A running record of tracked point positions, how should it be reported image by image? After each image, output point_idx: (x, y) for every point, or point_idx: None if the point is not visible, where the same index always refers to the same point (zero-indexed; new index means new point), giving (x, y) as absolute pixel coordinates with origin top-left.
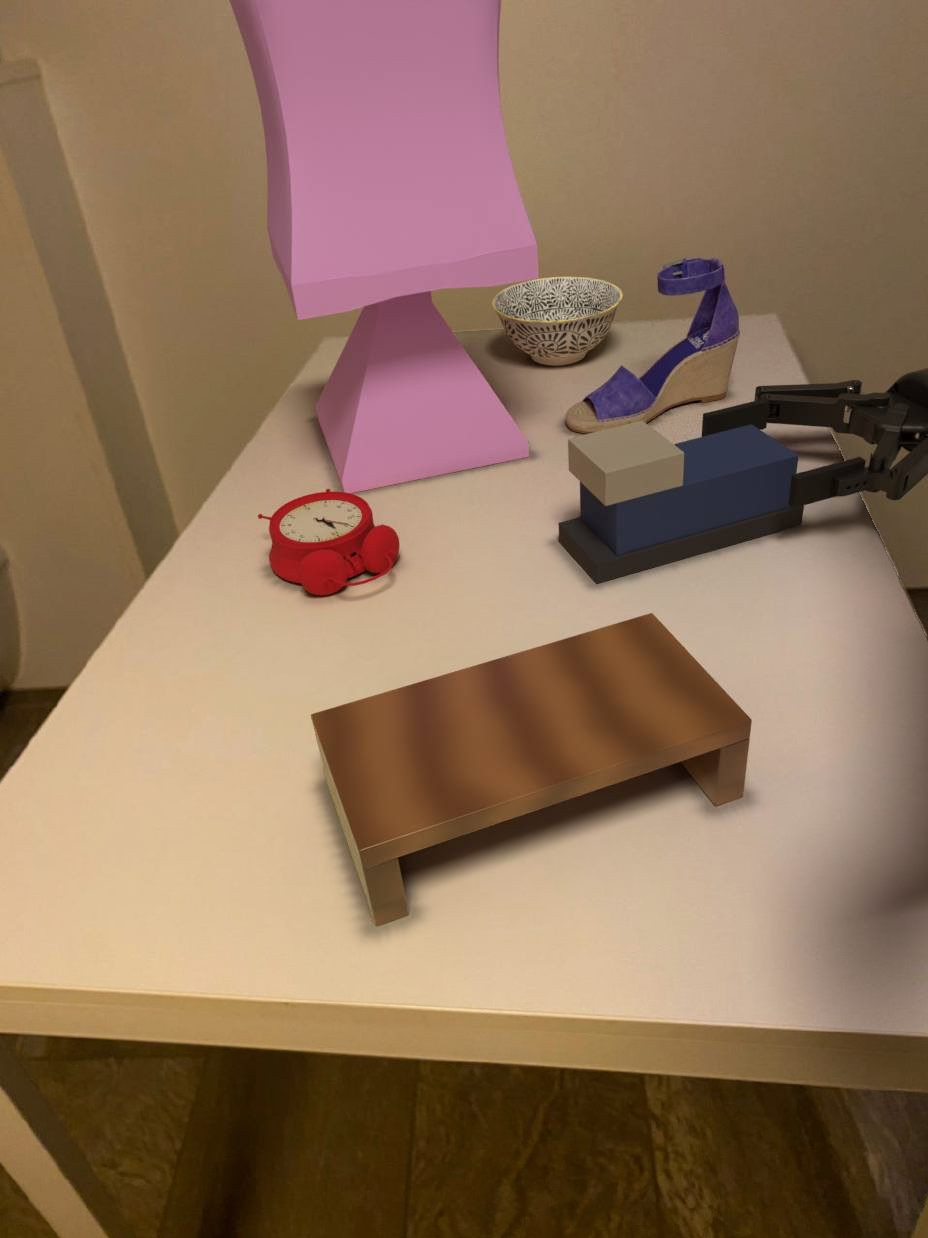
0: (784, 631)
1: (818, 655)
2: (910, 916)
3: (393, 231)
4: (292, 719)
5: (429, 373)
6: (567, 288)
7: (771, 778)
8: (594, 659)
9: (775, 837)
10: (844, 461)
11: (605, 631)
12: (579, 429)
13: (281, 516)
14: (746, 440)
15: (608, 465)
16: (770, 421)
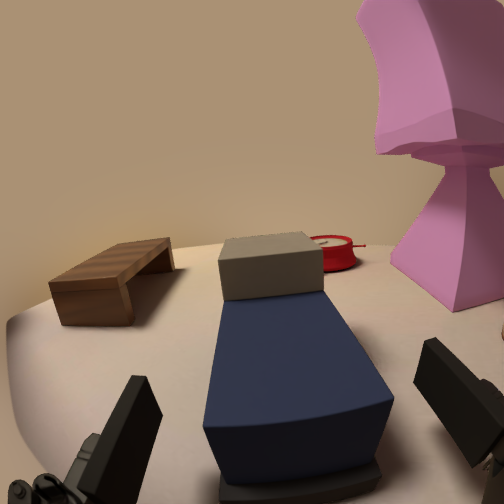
0: (96, 388)
1: (66, 387)
2: (7, 331)
3: (399, 107)
4: (213, 264)
5: (445, 217)
6: None
7: (55, 333)
8: (116, 264)
9: (46, 324)
10: (105, 459)
11: (125, 267)
12: (502, 329)
13: (333, 237)
14: (316, 377)
15: (236, 239)
16: (490, 470)
